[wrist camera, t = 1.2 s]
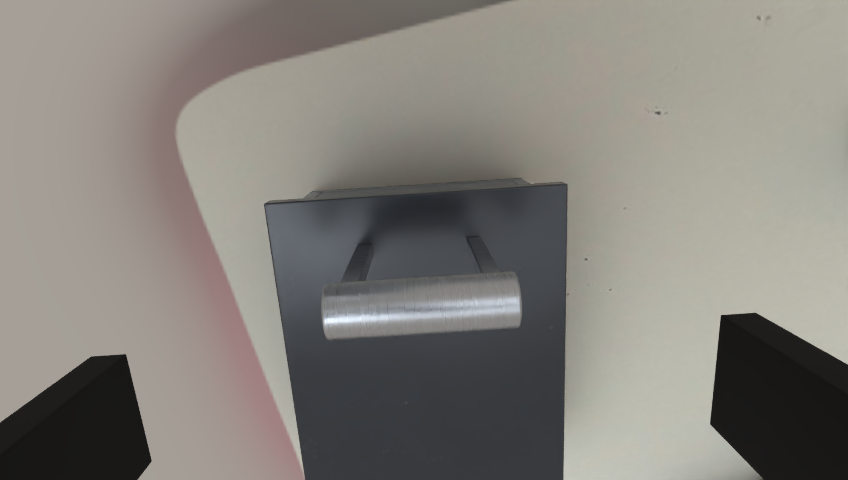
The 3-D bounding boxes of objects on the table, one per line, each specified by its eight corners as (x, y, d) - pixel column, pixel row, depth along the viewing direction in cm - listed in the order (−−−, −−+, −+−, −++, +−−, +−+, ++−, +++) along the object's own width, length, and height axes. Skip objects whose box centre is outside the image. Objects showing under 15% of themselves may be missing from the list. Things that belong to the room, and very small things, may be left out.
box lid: (268, 200, 22) (177, 251, 13) (562, 181, 22) (655, 220, 13) (319, 548, 27) (276, 742, 18) (558, 531, 27) (623, 719, 18)
